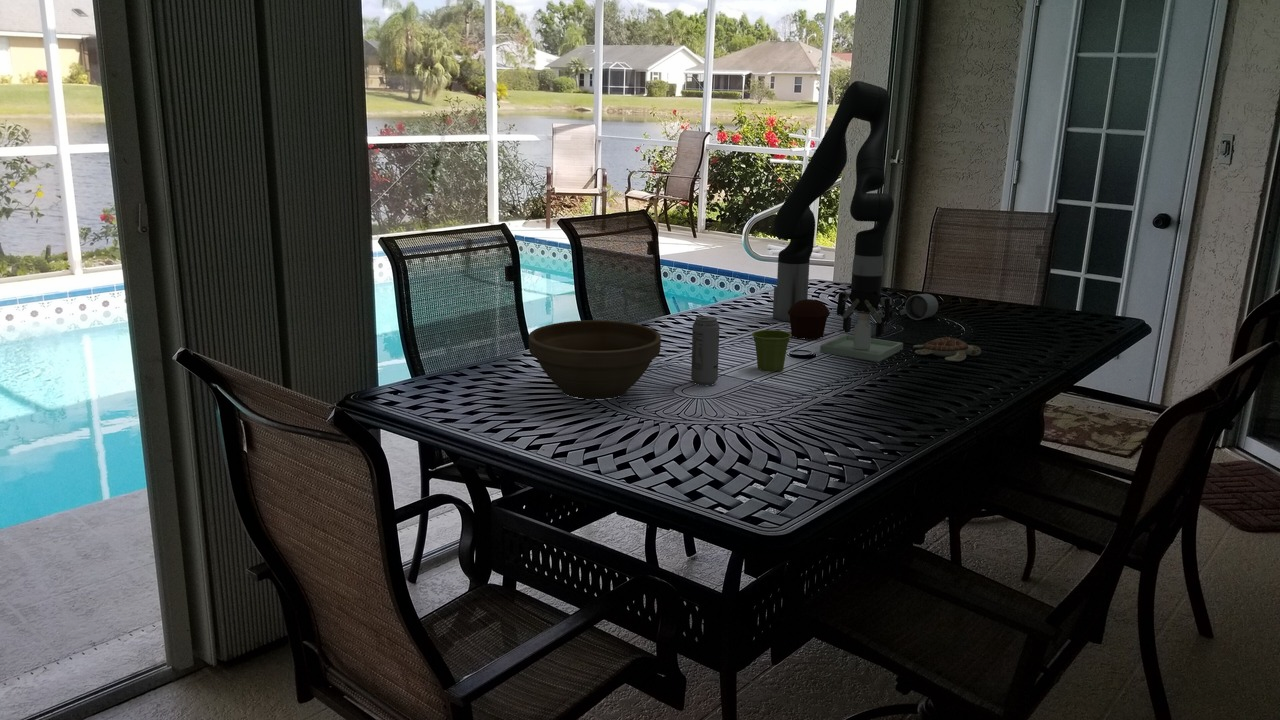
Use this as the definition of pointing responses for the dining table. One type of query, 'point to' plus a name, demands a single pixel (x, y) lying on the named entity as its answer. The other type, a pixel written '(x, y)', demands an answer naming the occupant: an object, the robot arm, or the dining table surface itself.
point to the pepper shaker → (862, 332)
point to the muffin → (808, 319)
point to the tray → (875, 353)
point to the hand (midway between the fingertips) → (862, 334)
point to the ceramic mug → (920, 306)
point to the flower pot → (594, 355)
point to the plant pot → (771, 349)
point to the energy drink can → (705, 350)
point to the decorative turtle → (948, 349)
